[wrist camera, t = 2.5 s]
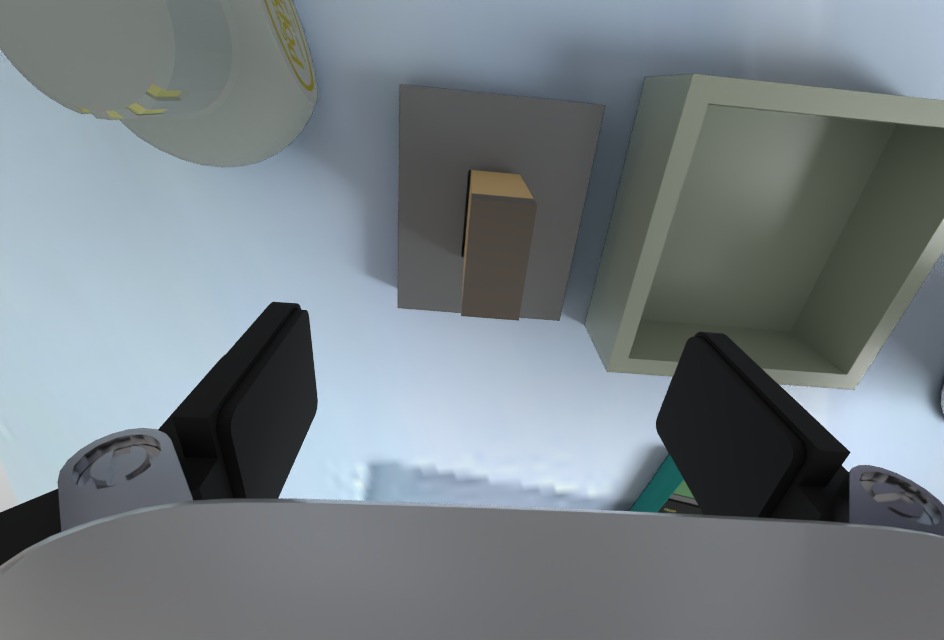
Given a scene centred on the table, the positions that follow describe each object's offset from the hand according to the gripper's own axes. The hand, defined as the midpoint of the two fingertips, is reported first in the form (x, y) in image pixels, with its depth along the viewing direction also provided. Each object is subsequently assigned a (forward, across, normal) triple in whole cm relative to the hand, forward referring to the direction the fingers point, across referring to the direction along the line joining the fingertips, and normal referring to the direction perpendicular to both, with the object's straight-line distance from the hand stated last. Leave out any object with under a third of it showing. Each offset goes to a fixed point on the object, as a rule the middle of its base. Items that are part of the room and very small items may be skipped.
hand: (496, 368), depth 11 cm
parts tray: (+17, -16, 0) cm, 23 cm away
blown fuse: (+16, -1, 0) cm, 17 cm away
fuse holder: (+17, -1, 0) cm, 17 cm away
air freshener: (+18, +13, -7) cm, 23 cm away
